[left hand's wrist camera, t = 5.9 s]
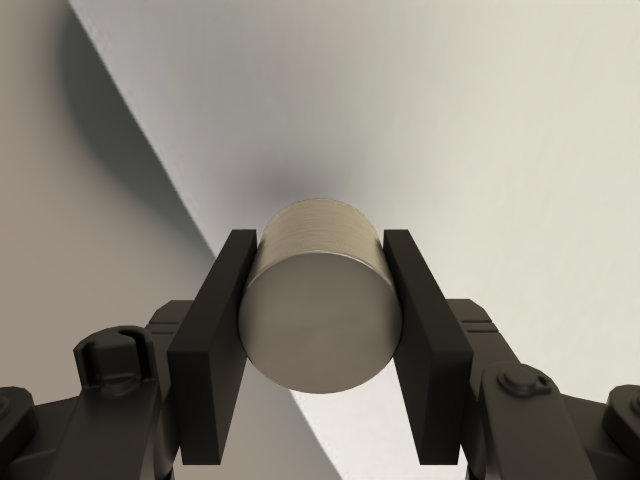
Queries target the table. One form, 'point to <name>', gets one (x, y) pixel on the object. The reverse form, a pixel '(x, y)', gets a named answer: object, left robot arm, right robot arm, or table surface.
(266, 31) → the table surface
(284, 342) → the tin
